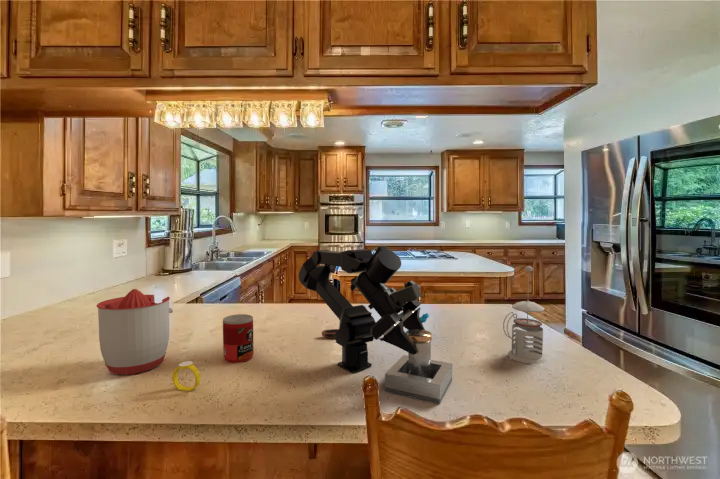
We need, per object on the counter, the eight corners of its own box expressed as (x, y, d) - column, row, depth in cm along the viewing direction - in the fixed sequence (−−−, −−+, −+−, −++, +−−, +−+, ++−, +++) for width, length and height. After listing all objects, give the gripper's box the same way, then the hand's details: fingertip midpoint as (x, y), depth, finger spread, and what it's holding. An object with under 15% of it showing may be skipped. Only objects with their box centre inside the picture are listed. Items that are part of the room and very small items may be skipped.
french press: (555, 362, 93) (558, 268, 92) (514, 365, 92) (517, 269, 90) (531, 349, 103) (533, 263, 102) (494, 351, 101) (496, 264, 100)
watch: (170, 392, 77) (168, 366, 77) (179, 386, 80) (176, 361, 80) (195, 393, 76) (193, 366, 76) (203, 387, 79) (201, 360, 79)
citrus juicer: (190, 358, 96) (188, 284, 95) (125, 385, 80) (122, 297, 79) (151, 349, 102) (149, 280, 101) (84, 372, 86) (81, 291, 85)
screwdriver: (399, 337, 114) (399, 327, 114) (400, 340, 111) (400, 330, 111) (322, 336, 114) (322, 327, 114) (321, 339, 111) (321, 330, 111)
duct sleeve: (402, 380, 80) (402, 333, 80) (417, 373, 84) (417, 328, 83) (421, 389, 76) (421, 339, 76) (436, 381, 80) (436, 333, 79)
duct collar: (385, 391, 77) (385, 373, 77) (403, 370, 88) (403, 354, 88) (439, 404, 72) (440, 384, 72) (452, 380, 83) (452, 363, 83)
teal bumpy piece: (407, 324, 121) (428, 307, 117) (420, 337, 120) (441, 320, 117) (400, 339, 111) (422, 320, 107) (413, 353, 110) (436, 335, 106)
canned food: (241, 365, 91) (240, 323, 91) (216, 360, 94) (215, 320, 93) (259, 354, 98) (259, 315, 98) (236, 350, 101) (235, 312, 101)
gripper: (384, 276, 72) (437, 337, 68) (412, 266, 89) (456, 314, 85) (350, 310, 76) (398, 370, 72) (383, 294, 93) (424, 341, 89)
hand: (421, 346), depth 79 cm, fingers open, 9 cm apart
